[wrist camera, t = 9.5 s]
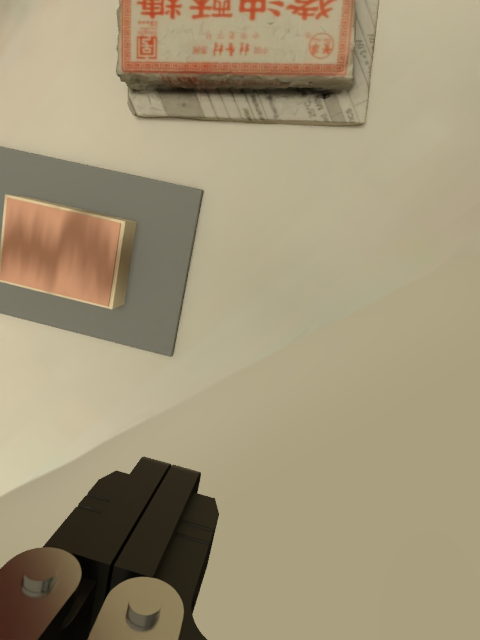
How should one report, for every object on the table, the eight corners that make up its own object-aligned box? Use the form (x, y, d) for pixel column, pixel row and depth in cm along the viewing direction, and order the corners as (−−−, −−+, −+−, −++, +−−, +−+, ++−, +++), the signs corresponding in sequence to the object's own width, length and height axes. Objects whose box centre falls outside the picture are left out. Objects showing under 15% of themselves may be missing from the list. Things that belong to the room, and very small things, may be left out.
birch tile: (137, 221, 37) (23, 196, 38) (124, 221, 35) (3, 194, 36) (124, 304, 39) (15, 277, 40) (111, 309, 36) (-4, 281, 37)
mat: (-4, 145, 38) (-8, 144, 38) (203, 190, 36) (201, 189, 36) (-18, 306, 42) (-22, 307, 41) (172, 355, 40) (171, 356, 39)
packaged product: (107, 105, 32) (107, -60, 30) (133, 120, 37) (135, -21, 35) (372, 113, 30) (392, -65, 28) (363, 128, 34) (381, -23, 32)
